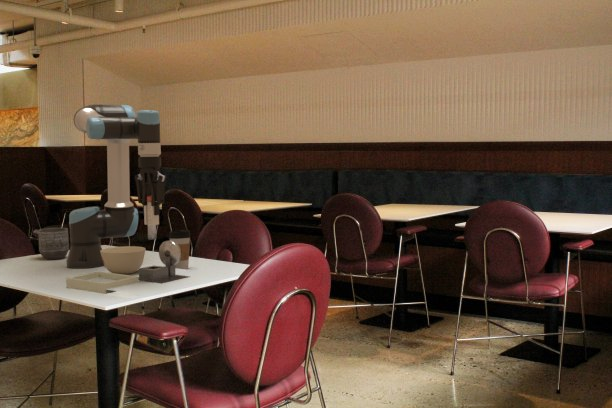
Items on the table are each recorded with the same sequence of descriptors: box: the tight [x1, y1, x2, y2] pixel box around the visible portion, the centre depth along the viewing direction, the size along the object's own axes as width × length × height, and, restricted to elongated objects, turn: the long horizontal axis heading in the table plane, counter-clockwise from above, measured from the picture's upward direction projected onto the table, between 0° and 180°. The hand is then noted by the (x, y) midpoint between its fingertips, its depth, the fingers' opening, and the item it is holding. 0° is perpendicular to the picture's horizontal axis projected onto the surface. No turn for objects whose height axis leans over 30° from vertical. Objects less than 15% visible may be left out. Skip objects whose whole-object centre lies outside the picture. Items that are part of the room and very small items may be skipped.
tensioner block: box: [137, 239, 190, 285], centre depth 238 cm, size 16×14×14 cm
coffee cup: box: [168, 229, 191, 270], centre depth 264 cm, size 8×8×15 cm
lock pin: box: [147, 195, 157, 240], centre depth 234 cm, size 3×3×15 cm
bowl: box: [100, 245, 146, 275], centre depth 250 cm, size 16×16×10 cm
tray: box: [65, 271, 139, 295], centre depth 231 cm, size 20×14×3 cm
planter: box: [37, 227, 70, 261], centre depth 296 cm, size 12×12×13 cm
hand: (151, 224), depth 234 cm, fingers closed on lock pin, 3 cm apart
